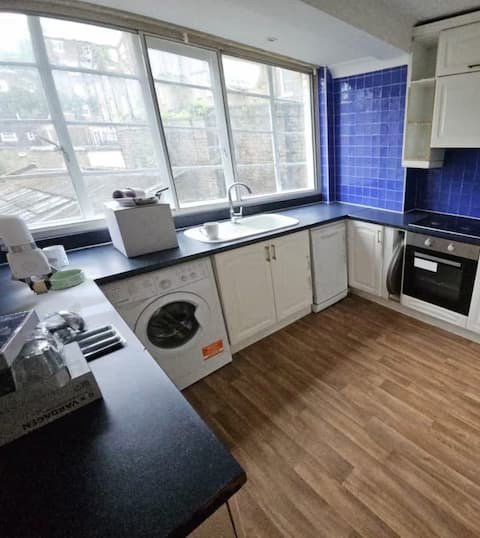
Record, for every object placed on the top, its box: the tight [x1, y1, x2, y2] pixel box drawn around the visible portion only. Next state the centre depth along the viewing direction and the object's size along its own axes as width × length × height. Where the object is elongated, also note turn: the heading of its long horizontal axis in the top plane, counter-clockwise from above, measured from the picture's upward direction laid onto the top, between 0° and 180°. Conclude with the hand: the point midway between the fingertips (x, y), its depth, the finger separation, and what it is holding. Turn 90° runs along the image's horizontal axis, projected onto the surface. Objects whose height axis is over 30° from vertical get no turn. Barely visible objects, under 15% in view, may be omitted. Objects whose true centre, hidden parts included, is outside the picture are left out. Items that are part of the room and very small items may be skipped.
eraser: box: [33, 279, 50, 296], centre depth 119 cm, size 6×3×4 cm, turn 39°
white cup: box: [41, 244, 70, 268], centre depth 154 cm, size 8×8×10 cm
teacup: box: [34, 258, 63, 279], centre depth 140 cm, size 14×11×8 cm
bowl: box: [42, 268, 87, 291], centre depth 133 cm, size 13×13×4 cm
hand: (42, 289), depth 120 cm, fingers closed on eraser, 3 cm apart
